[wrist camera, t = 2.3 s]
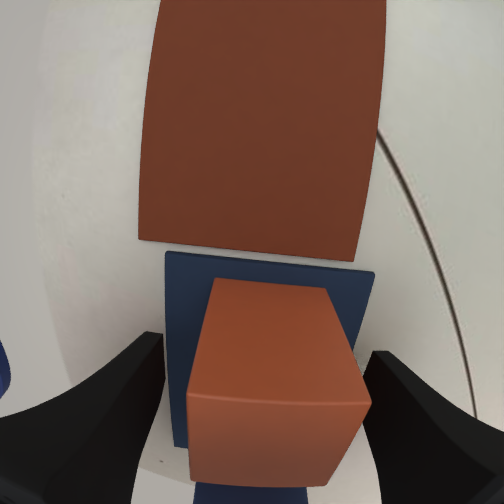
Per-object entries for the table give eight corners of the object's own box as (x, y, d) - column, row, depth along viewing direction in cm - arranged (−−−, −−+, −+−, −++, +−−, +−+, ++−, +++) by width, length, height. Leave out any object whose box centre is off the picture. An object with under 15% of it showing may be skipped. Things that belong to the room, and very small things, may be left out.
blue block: (281, 450, 16) (287, 541, 10) (206, 445, 16) (195, 536, 10) (295, 404, 14) (309, 511, 9) (208, 397, 14) (192, 506, 8)
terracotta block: (305, 371, 13) (326, 487, 8) (209, 363, 13) (190, 481, 8) (326, 287, 12) (373, 402, 6) (214, 276, 12) (185, 393, 6)
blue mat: (310, 452, 16) (310, 456, 16) (174, 443, 16) (174, 446, 16) (373, 271, 12) (375, 274, 12) (166, 250, 12) (164, 253, 12)
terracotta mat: (351, 259, 12) (353, 262, 12) (140, 237, 12) (138, 240, 11) (383, -31, 8) (386, -34, 7) (176, -56, 8) (175, -60, 7)
